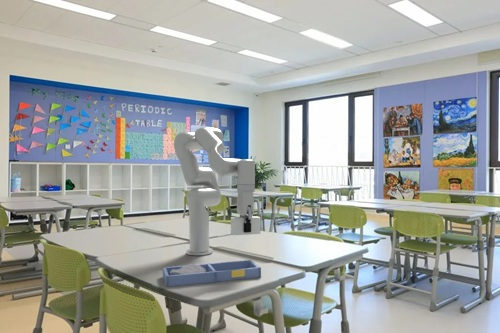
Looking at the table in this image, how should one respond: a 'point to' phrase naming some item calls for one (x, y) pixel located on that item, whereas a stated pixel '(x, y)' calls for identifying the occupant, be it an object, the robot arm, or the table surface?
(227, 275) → the blue divided tray
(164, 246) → the table surface
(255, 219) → the white rectangular block
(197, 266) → the grey grainy mound
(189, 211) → the robot arm
